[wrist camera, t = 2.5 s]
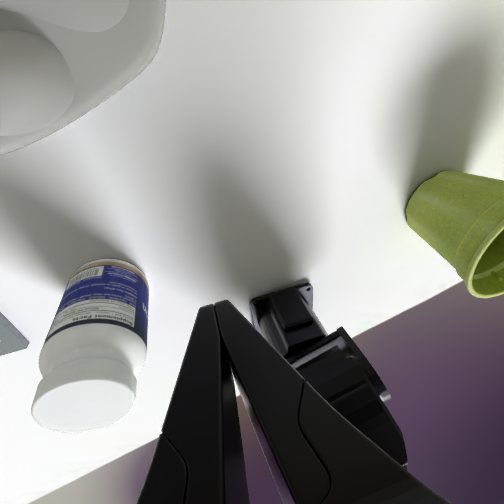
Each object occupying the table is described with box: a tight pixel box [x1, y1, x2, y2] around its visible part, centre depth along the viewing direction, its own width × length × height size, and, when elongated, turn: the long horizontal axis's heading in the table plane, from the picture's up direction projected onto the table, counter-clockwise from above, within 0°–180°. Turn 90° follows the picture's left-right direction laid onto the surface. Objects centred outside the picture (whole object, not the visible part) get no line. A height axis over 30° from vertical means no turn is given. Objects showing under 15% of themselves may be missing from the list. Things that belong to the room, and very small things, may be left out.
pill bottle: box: [31, 259, 149, 433], centre depth 18 cm, size 6×6×10 cm
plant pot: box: [406, 170, 504, 298], centre depth 23 cm, size 9×9×9 cm
